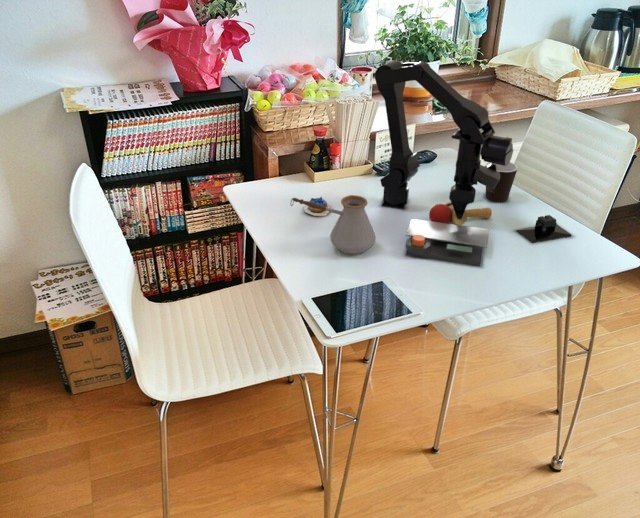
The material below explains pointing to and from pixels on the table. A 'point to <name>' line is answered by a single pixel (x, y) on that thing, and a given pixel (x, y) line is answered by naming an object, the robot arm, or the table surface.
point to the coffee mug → (502, 183)
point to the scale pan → (449, 232)
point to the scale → (444, 252)
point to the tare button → (418, 240)
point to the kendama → (447, 213)
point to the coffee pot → (349, 225)
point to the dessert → (314, 210)
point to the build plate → (544, 230)
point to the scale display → (459, 248)
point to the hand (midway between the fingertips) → (460, 211)
